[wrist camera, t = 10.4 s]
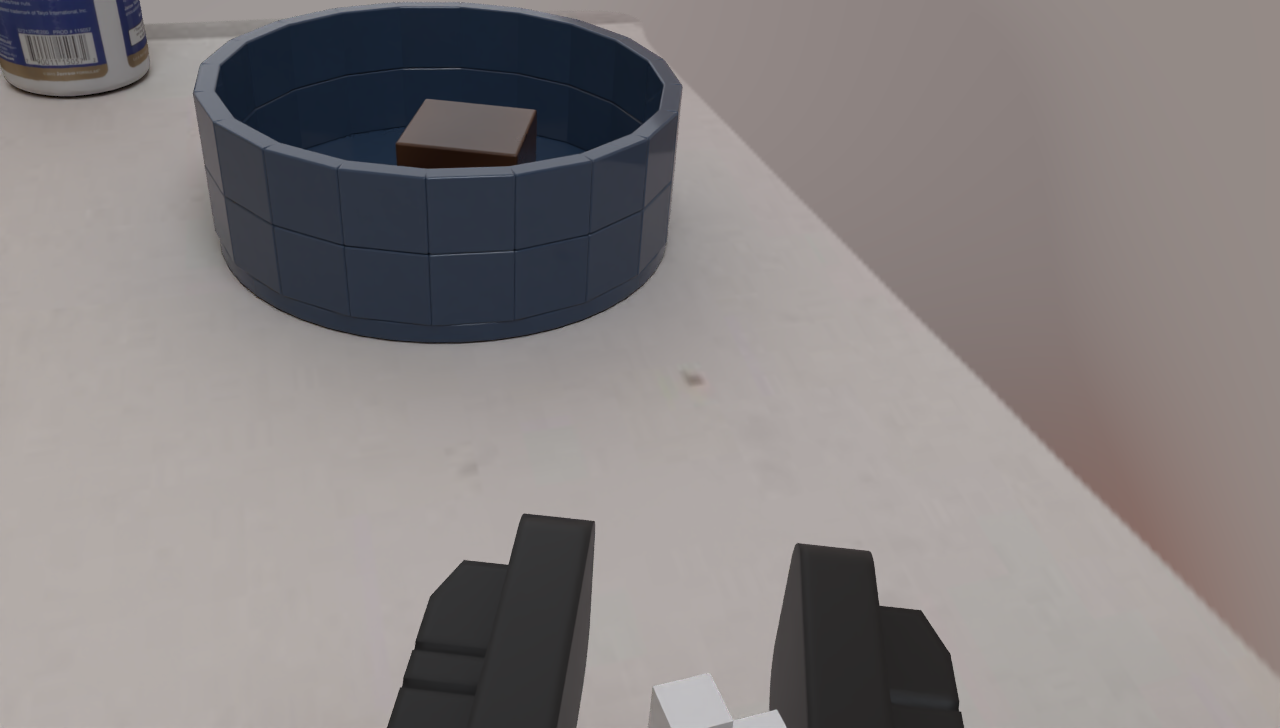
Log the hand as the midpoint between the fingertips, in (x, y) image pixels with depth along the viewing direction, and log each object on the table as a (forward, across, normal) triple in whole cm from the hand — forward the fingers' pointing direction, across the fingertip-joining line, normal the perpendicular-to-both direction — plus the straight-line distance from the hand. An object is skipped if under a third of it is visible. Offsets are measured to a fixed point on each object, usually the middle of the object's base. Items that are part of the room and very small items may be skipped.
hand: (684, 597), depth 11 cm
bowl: (+24, +8, +9) cm, 27 cm away
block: (+23, +7, +8) cm, 25 cm away
